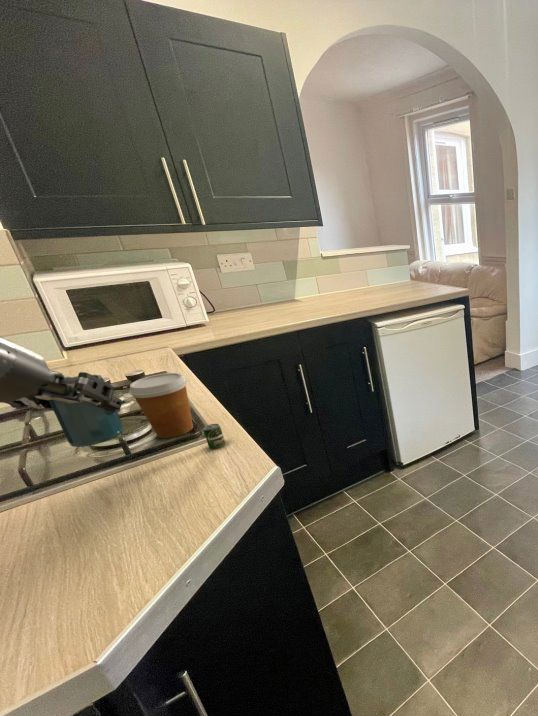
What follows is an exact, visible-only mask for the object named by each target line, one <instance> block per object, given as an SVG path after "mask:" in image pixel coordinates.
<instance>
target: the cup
mask: <svg viewBox="0 0 538 716" xmlns="http://www.w3.org/2000/svg"><path fill="white" fill-rule="evenodd" d="M92 375H93V376H95V377H96V378H98V379H100V380H102V381H104V378H103V376H102V375H100V374H92ZM71 377H72V378H77V377H78V375H77V376H71ZM74 392H75V390H74V387H71V390H70V393H69V395H68V397H73V395H74ZM84 397H86V398H90V399H92V398H91V397H89V396H87V395H84ZM49 402H50V404H51V406H52V409H53V411H52V412H53V413H54V415H55V417H56V419H57V421H58V423H59V425H60V427H61V429H62V431H63V433H64V436H65V438H66V440H67V442H68V444H69V446H71V447H74V448H85V447H90V446H95V445H99V444H102V443H105V442H109V441H111V440H113V439H115V438H117V437H119V436H120V435H121V434H123V433H124V427H123V424H122V422H121V419H120V417H119V415H118V412H110V411H108V410H105V409H102V408H100V407H97V406H95V405H92V404H87V403H82V402H79V403H77V404H71V403H66V402H62V401H57V400H49Z"/></svg>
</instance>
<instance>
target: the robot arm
mask: <svg viewBox="0 0 538 716" xmlns="http://www.w3.org/2000/svg"><path fill="white" fill-rule="evenodd" d="M93 375H94V374H91V373H89V372H85V371H80V372H79V373H78V375H77V376H78V377H77V378H72V377H73V376H68V375H66V374H64V373H62V372H59V371H55V370H51V369H50V368H49V365H48V364H47V362H46V360H45V358H44V357H43V356H42V355H41V354H39V353H37V352H35V351H33V350H31V349H29V348H27V347H24V346H22V345H20V344H18V343H16V342H13V341H11V340H9V339H7V338H5V337H3V336H0V403H1V404H2V403H3V404H7V405H9V406H13V407H16V408H21V409H26V408H28V407H29V406H31V407H33V408H34V409H39V410H40V409H42V410H43V409H46V410H49V411H52V412H54V411H53V409H52V406H51V404H50V402H49V400H57V401H62V402H66V403H71V404H77V403H79V402H82V403H87V404H92V405H95V406H97V407H100V408H102V409H105V410H108V411H110V412H117V413H119V412H120V411H121V409H122V405H123V400H122V399H121V398H119V397H116V396H115V395H114V392H115V388H116V387H115V386H113V385H111V384H109V383H108V382H106V381H104V380H103V381H102V380H100V379H98V378H96V377H95V376H93ZM71 387H74V390H75V392H74V395H73V397H68V395H69V393H70V390H71ZM84 395H87V396H89V397H91V398H92V399H90V398H86V397H84Z"/></svg>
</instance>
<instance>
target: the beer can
mask: <svg viewBox="0 0 538 716" xmlns="http://www.w3.org/2000/svg"><path fill="white" fill-rule="evenodd" d="M202 429H203V434H204V437H205V440H206V443H207V446H208V448H209V449H211V450H214V449H215V450H216V449H221V448H222V447H224V446H225V444H226V439H225V436H224V434H223V431H222V427H221V426H220V424H219V423H210V424H207V425H206V426H204V427H203V428H202Z"/></svg>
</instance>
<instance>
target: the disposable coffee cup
mask: <svg viewBox="0 0 538 716" xmlns="http://www.w3.org/2000/svg"><path fill="white" fill-rule="evenodd" d="M187 382H188V380H187V378H185V377H184V376H183V374H182V373H180V372H168V373H166V372H165V373H160V374H159V373H158V374H154V375H149V376H146V377H142V378H140V379H137V380H135V381H133V382H132V383H130V384H129V391H128V394H129V395H131V397H133V398H134V399H135V401H136V402H137V404H138V406H139V408H140V409H141V411H142V413H143V414H144V416H145V417H146V419H147V422H148V423H149V425H150V426H151V428H152V430H153V431H154V433H155V434H156V436H157V438H160V439H168V438H169V439H170V438H175V437H180V436H182V435H184V434H186V433H189V432H191V431H192V430H193V428H194V425H193V419H192V415H191V414H192V413H191V407H190V402H189V396H188V390H187Z"/></svg>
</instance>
